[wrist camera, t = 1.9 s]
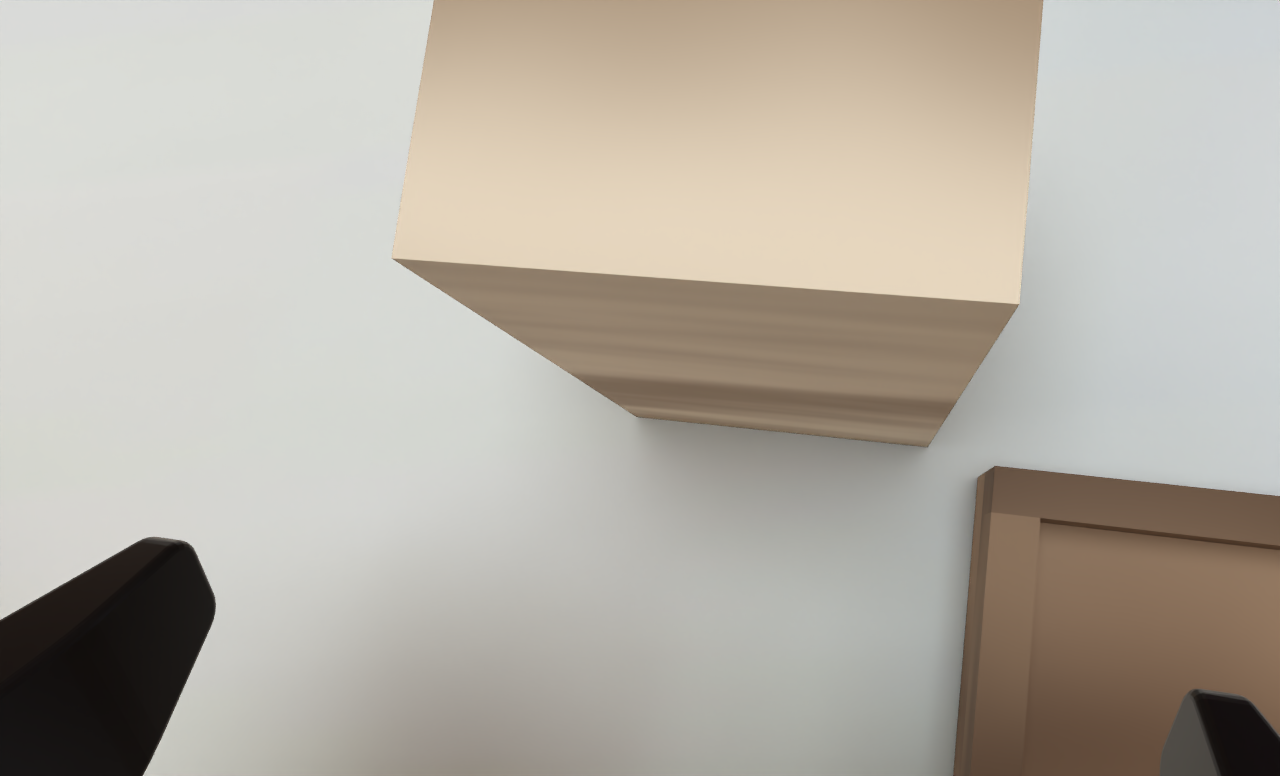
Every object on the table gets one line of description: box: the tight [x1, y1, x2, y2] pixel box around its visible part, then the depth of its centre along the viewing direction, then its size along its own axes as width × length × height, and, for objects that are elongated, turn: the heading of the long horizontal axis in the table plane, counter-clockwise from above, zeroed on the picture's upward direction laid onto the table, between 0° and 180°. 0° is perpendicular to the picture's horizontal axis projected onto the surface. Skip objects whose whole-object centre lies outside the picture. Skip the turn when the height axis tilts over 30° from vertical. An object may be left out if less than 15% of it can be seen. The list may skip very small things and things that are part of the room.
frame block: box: [392, 0, 1043, 447], centre depth 16 cm, size 5×6×12 cm
